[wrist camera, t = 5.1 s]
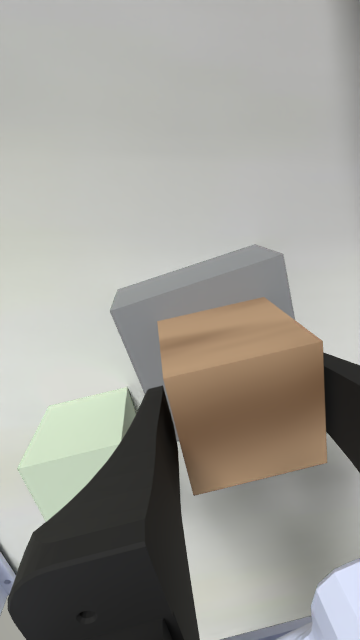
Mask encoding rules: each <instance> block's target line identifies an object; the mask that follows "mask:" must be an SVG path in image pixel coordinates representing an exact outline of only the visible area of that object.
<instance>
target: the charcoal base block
mask: <svg viewBox="0 0 360 640" xmlns="http://www.w3.org/2000/svg"><path fill="white" fill-rule="evenodd" d="M262 297H265V298H266V299H267V300H269V301H270V302H271V303H273V304H274V305H275V306H277V307H278V308H279V309H281V310H282V311H283V312H285V313H286V314H287V315H289V316H290V317H291V318H293V319H294V320H295V317H294V311H293V306H292V300H291V295H290V289H289V284H288V278H287V273H286V267H285V262H284V256H283V254H282V253H279V252H276V251H273V250H270V249H267V248H264V247H261V246H258V245H252V246H249V247H246V248H242V249H239V250H236V251H233V252H230V253H227V254H224V255H221V256H218V257H215V258H212V259H209V260H206V261H203V262H200V263H197V264H194V265H191V266H188V267H185V268H182V269H179V270H176V271H173V272H170V273H167V274H164V275H161V276H158V277H155V278H152V279H149V280H146V281H143V282H140V283H137V284H134V285H130V286H127V287H124V288H121V289H118V290H117V293H116V295H115V298H114V301H113V304H112V307H111V309H110V312H111V315H112V317H113V320H114V322H115V324H116V327H117V329H118V331H119V334H120V336H121V339H122V341H123V343H124V346H125V348H126V350H127V353H128V355H129V358H130V360H131V362H132V365H133V367H134V369H135V372H136V374H137V377H138V379H139V381H140V384H141V386H142V388H143V391H144V393H146V391H147V390H148V389H150V388H154V387H158V386H162V385H163V388H164V391H165V395H166V398H167V402H168V406H169V409H170V413H171V416H172V420H173V424H174V428H175V434H176V440H177V442H178V441H179V438H178V434H177V430H176V426H175V422H174V418H173V415H172V411H171V407H170V403H169V399H168V395H167V392H166V388H165V384H164V380H163V372H162V363H161V353H160V343H159V333H158V324H157V321H161V320H165V319H170V318H174V317H178V316H183V315H187V314H191V313H196V312H200V311H205V310H209V309H213V308H218V307H222V306H226V305H231V304H235V303H240V302H244V301H248V300H253V299H257V298H262Z"/></svg>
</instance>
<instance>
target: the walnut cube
mask: <svg viewBox="0 0 360 640" xmlns="http://www.w3.org/2000/svg"><path fill="white" fill-rule="evenodd" d="M157 324H158V333H159V343H160V353H161V363H162V372H163V380H164V384H165V388H166V392H167V395H168V399H169V403H170V407H171V411H172V415H173V418H174V422H175V426H176V430H177V434H178V438H179V441H180V445H181V449H182V453H183V457H184V461H185V464H186V468H187V472H188V476H189V480H190V484H191V487H192V491H193V495H194V496H195V495H199V494H203V493H207V492H211V491H215V490H219V489H223V488H227V487H231V486H235V485H239V484H243V483H247V482H251V481H255V480H259V479H264V478H268V477H272V476H276V475H280V474H284V473H288V472H292V471H296V470H300V469H304V468H308V467H312V466H316V465H320V464H324V463H327V446H326V419H325V392H324V364H323V341H322V340H320V339H319V338H318V337H316V336H315V335H314V334H312V333H311V332H310V331H308V330H307V329H306V328H305V327H303V326H302V325H301V324H299V323H298V322H297V321H295V320H294V319H293V318H291V317H290V316H289V315H287V314H286V313H285V312H283V311H282V310H281V309H279V308H278V307H277V306H275V305H274V304H273V303H271V302H270V301H269V300H267V299H266V298H265V297H262V298H257V299H253V300H248V301H244V302H240V303H235V304H231V305H226V306H222V307H218V308H213V309H209V310H205V311H200V312H196V313H191V314H187V315H183V316H178V317H174V318H170V319H165V320H161V321H157Z"/></svg>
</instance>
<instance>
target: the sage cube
mask: <svg viewBox="0 0 360 640" xmlns="http://www.w3.org/2000/svg"><path fill="white" fill-rule="evenodd" d="M135 415H136V412H135V409H134V406H133V403H132V400H131V397H130V394H129V390H128V387H125V388H121V389H117V390H113V391H109V392H105V393H100V394H96V395H92V396H88V397H84V398H80V399H76V400H71V401H67V402H63V403H59V404H55V405H51V406H49V407H48V409H47V411H46V413H45V415H44V417H43V419H42V421H41V423H40V425H39V427H38V429H37V431H36V433H35V435H34V437H33V439H32V441H31V443H30V444H29V446H28V448H27V450H26V452H25V454H24V456H23V458H22V460H21V462H20V464H19V466H18V468H17V469H18V471H19V473H20V475H21V477H22V479H23V480H24V482H25V484H26V486H27V488H28V490H29V492H30V493H31V495H32V497H33V499H34V501H35V503H36V505H37V506H38V508H39V510H40V512H41V514H42V516H43V518H44V520H45V521H48V520H49V519H50V518H51V517H52V516H54V515H55V514H56V513H57V512H58V511H59V510H61V509H62V508H63V507H64V506H65V505H66V504H67V503H68V502H69V501H70V500H72V499H73V498H74V497H75V496H76V495H77V494H78V493H79V492H80V491H81V490H82V489H83V488H84V487H85V486H86V485H87V484H88V483H89V481H90V480H91V479H92V478H93V477H94V476H95V475H96V473H97V472H98V471H99V470H100V469H101V468H102V466H103V465H104V464H105V463H106V462H107V460H108V459H109V458H110V456H111V455H112V454H113V452H114V451H115V449H116V448H117V447H118V445H119V444H120V442H121V440H122V439H123V437H124V435H125V434H126V432H127V430H128V429H129V427H130V425H131V423H132V421H133V419H134V417H135Z"/></svg>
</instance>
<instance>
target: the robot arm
mask: <svg viewBox="0 0 360 640" xmlns="http://www.w3.org/2000/svg"><path fill="white" fill-rule="evenodd" d="M323 364H324V392H325V419H326V432H327V433H328V434H329V435H330V436H331V438H332V439H333V440H334V441H335V442H336V444H337V445H338V446H339V447H340V448H341V450H342V451H343V452H344V453H345V454H346V456H347V457H348V458H349V459H350V460H351V462H352V463H353V464H354V466H355V467H356V468H357V470H358V471H359V472H360V365H357V364H354V363H351V362H348V361H346V360H343V359H340V358H337V357H334V356H332V355H329V354H326V353H323ZM8 595H9V597H8V611H9V613H10V615H11V617H12V620H13V621H14V623H15V624H16V626H17V627H18V629H19V630H20V631H21V633H22V634H23V636H24V637H25V638H26V640H200V638H199V632H198V625H197V619H196V613H195V606H194V600H193V593H192V586H191V580H190V573H189V566H188V559H187V552H186V545H185V538H184V531H183V524H182V516H181V505H180V483H179V461H178V447H177V440H176V434H175V428H174V424H173V420H172V416H171V413H170V409H169V406H168V402H167V398H166V395H165V391H164V388H163V385H162V386H158V387H154V388H150V389H148V390H147V391H146V393H145V396H144V398H143V401H142V403H141V405H140V407H139V409H138V412H137V413H136V415H135V417H134V419H133V421H132V423H131V425H130V427H129V429H128V430H127V432H126V434H125V435H124V437H123V439H122V440H121V442H120V444H119V445H118V447H117V448H116V449H115V451H114V452H113V454H112V455H111V456H110V458H109V459H108V460H107V462H106V463H105V464H104V465H103V466H102V468H101V469H100V470H99V471H98V472H97V473H96V475H95V476H94V477H93V478H92V479H91V480H90V481H89V483H88V484H87V485H86V486H85V487H84V488H83V489H82V490H81V491H80V492H79V493H78V494H77V495H76V496H75V497H74V498H73V499H72V500H70V501H69V502H68V503H67V504H66V505H65V506H64V507H63V508H62V509H61V510H59V511H58V512H57V513H56V514H55V515H54V516H52V517H51V518H50V519H49V520H48V521H46V522H45V523H44V524H43V525H42V526H41V527H39V528H38V529H37V530H36V531H34V532H33V534H32V536H31V538H30V541H29V543H28V545H27V547H26V550H25V552H24V555H23V558H22V560H21V563H20V566H19V569H18V572H17V574H16V575H15V573H14V572H13V570H12V569H11V567H10V566H9V564H8V563H7V561H6V560H5V558H4V557H3V555H2V554H1V552H0V615H1V613H2V610H3V607H4V604H5V601H6V599H7V596H8ZM311 613H312V616H308V617H304V618H301V619H297V620H293V621H289V622H285V623H281V624H278V625H274V626H270V627H266V628H262V629H259V630H255V631H251V632H247V633H243V634H240V635H236V636H232V637H228V638H224V639H221V640H360V558H359V559H356V560H353V561H351V562H349V563H347V564H344V565H342V566H340V567H337V568H335V569H333V570H332V571H331V572H330V573H329V574H328V575H327V576H326V577H325V578H324V579H323V580H322V581H321V582H319V583H318V585H317V588H316V592H315V595H314V598H313V601H312V605H311Z"/></svg>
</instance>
